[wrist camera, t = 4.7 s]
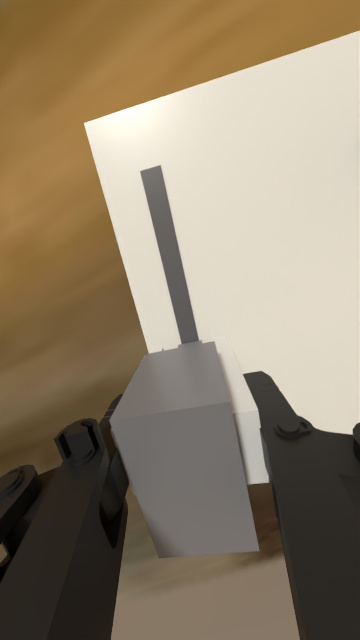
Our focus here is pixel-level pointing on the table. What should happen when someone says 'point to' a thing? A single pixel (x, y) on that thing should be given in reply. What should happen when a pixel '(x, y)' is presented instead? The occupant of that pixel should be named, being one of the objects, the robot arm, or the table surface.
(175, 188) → the fader panel
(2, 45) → the table surface
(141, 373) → the fader
